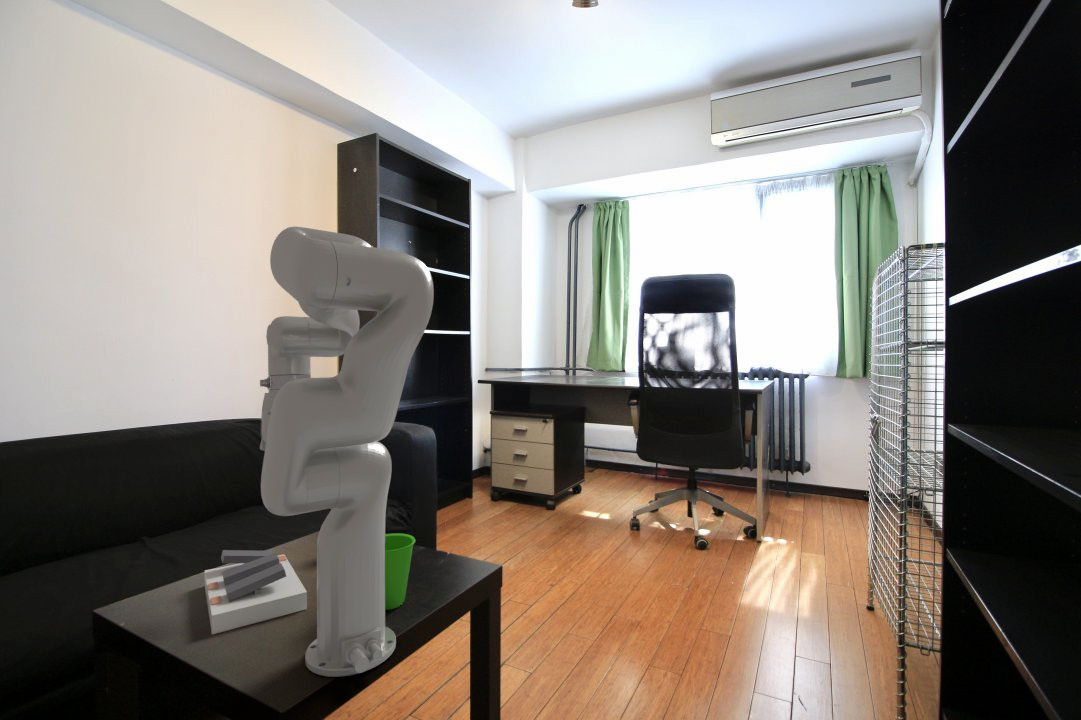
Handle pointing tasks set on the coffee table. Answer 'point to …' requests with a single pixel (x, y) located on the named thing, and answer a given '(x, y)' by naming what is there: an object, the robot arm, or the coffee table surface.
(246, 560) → the block
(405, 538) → the cup
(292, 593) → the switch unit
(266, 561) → the rocker middle
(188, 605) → the coffee table surface
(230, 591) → the rocker near
